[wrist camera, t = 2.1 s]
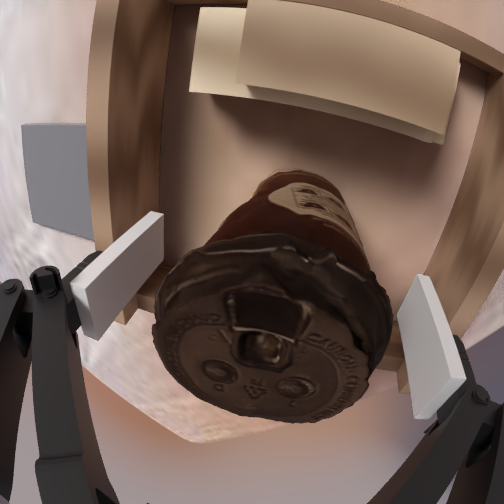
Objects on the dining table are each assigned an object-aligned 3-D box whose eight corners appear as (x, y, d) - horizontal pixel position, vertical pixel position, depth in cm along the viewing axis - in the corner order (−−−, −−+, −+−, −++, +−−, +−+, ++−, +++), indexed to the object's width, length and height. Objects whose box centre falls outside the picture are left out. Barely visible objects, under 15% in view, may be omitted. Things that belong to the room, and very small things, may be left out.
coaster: (26, 123, 21) (21, 125, 20) (103, 124, 20) (98, 126, 19) (36, 219, 26) (33, 222, 26) (109, 240, 25) (105, 243, 24)
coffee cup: (304, 119, 17) (264, 188, 6) (390, 218, 19) (442, 386, 8) (211, 208, 21) (103, 345, 11) (293, 287, 23) (258, 449, 12)
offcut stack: (218, 14, 15) (176, -8, 10) (448, 65, 13) (493, 61, 8) (207, 88, 17) (163, 92, 12) (431, 139, 16) (470, 162, 11)
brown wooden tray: (157, -9, 14) (102, -29, 9) (508, 66, 11) (563, 70, 6) (145, 274, 26) (108, 318, 21) (406, 337, 23) (416, 394, 18)
